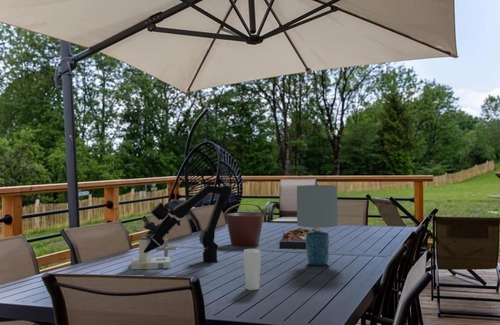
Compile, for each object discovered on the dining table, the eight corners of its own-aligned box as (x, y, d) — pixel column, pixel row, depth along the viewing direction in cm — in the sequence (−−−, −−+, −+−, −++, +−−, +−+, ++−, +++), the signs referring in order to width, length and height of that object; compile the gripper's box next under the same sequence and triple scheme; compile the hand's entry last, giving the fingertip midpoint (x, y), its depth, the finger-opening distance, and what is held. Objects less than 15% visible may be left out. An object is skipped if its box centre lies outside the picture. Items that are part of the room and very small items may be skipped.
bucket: (266, 242, 305) (265, 202, 305) (263, 248, 283) (263, 205, 283) (227, 242, 307) (227, 202, 307) (221, 247, 285) (221, 205, 285)
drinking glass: (260, 286, 191) (260, 248, 192) (261, 291, 185) (261, 251, 185) (243, 287, 191) (243, 248, 191) (243, 291, 184) (243, 251, 185)
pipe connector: (157, 260, 248) (157, 240, 248) (155, 256, 258) (155, 238, 258) (176, 259, 251) (176, 239, 251) (174, 255, 260) (174, 237, 261)
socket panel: (170, 262, 242) (170, 256, 242) (170, 268, 228) (170, 262, 228) (133, 264, 239) (133, 258, 239) (130, 270, 225) (130, 263, 225)
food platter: (322, 249, 278) (321, 231, 278) (279, 249, 283) (279, 231, 283) (324, 238, 322) (324, 222, 322) (288, 237, 327) (287, 222, 327)
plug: (150, 265, 234) (150, 236, 235) (147, 267, 230) (146, 238, 231) (142, 265, 235) (142, 236, 235) (139, 267, 231) (139, 237, 231)
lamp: (290, 262, 240) (290, 185, 240) (325, 259, 246) (324, 184, 247) (309, 269, 222) (308, 187, 222) (345, 266, 228) (344, 186, 229)
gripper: (150, 213, 243) (128, 237, 239) (156, 217, 226) (133, 242, 222) (166, 228, 246) (144, 252, 242) (173, 233, 229) (150, 258, 225)
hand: (142, 250), depth 233 cm, fingers open, 9 cm apart
